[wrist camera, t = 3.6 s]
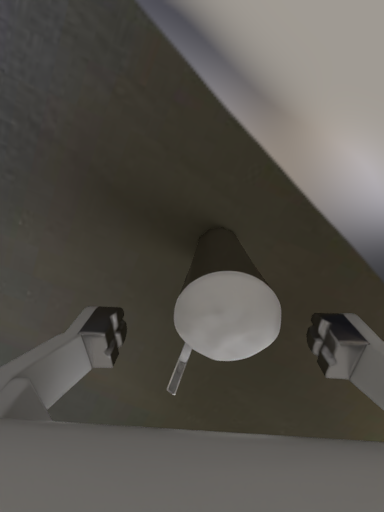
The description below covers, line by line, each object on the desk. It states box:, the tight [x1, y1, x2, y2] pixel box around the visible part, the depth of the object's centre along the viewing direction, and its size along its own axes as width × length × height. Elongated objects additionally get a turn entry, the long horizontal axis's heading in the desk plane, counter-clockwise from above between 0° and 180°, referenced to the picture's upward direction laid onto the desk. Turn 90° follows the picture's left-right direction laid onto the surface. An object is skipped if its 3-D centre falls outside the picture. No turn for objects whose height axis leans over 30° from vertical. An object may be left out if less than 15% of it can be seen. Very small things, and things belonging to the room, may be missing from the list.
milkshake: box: [167, 227, 281, 395], centre depth 12 cm, size 5×5×10 cm
